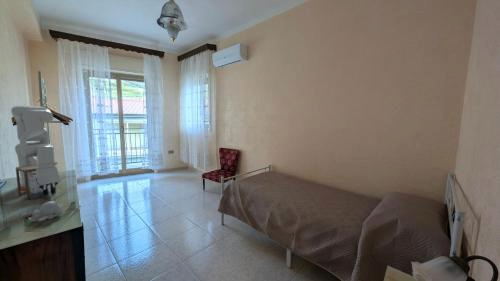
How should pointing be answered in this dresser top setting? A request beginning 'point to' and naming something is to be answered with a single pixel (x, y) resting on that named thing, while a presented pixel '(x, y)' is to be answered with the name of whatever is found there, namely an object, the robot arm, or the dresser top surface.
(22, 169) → the wooden stool
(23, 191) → the pit trap
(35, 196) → the gray frame with handle
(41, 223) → the dresser top surface
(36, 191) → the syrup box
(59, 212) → the round bodied animal figurine
